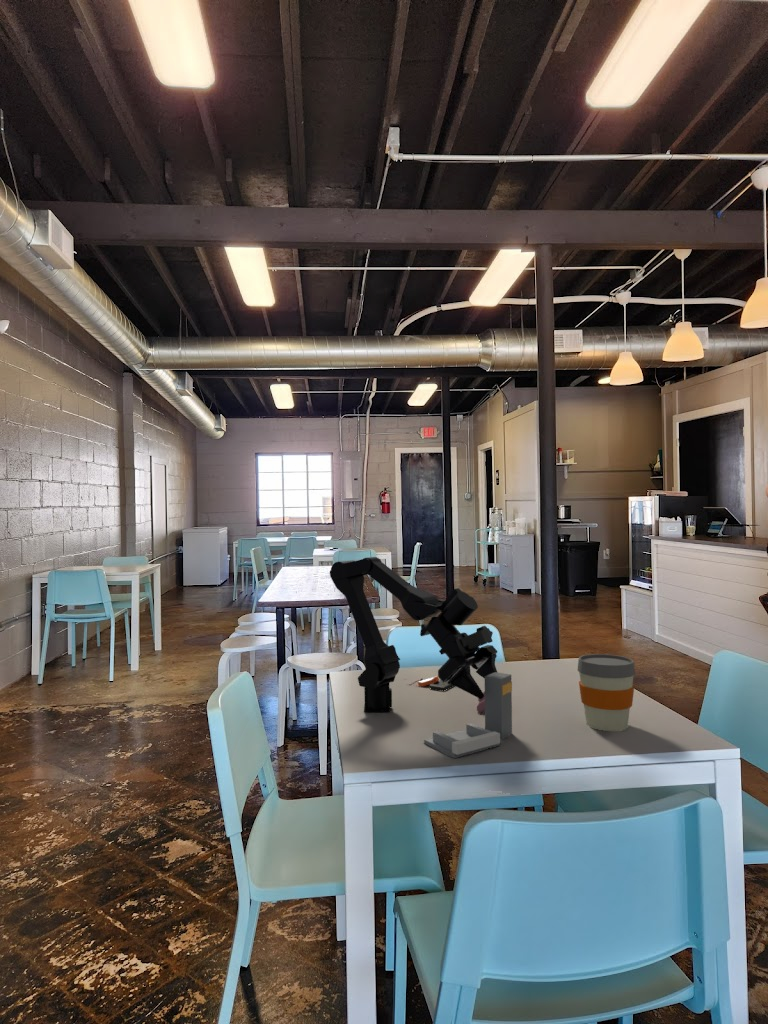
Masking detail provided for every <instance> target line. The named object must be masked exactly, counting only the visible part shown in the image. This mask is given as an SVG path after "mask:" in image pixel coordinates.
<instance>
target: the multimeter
mask: <svg viewBox="0 0 768 1024" xmlns="http://www.w3.org/2000/svg"><path fill="white" fill-rule="evenodd" d="M415 683H417V684H418V687H420V686H423V687H426V686H429V689H430V688H431V689H430V690H432V689H437V690H436V691H438V690H443V691H442V692H445V691H444V690H446V689H447V690H449V689H451V688H453V687H452V686H453V685H451V684H448V681H447V682H445V683H443V682H442V681H441V680H440V678H439V677H438V675H435V676H432V677H429V678H426V679H423V678H420V679H419V680H416V681H413V682H412V683H411V684H410V686H412V685H414V684H415ZM450 687H451V688H450ZM448 688H449V689H448ZM447 690H446V691H447Z"/></svg>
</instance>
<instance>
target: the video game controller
mask: <svg viewBox="0 0 768 1024" xmlns="http://www.w3.org/2000/svg"><path fill="white" fill-rule="evenodd" d="M482 692H483V694H484V697H483V698H482V699H479V698H477V701H478V702H479V703H478V704H477V705H476V711H477V712H478V713H480V714H481V713H485V690H484V691H482Z"/></svg>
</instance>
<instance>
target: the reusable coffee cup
mask: <svg viewBox="0 0 768 1024" xmlns="http://www.w3.org/2000/svg"><path fill="white" fill-rule="evenodd" d="M634 661H635V660H633V659H632V658H629V657H626V656H622V655H617V654H616V655H615V654H606V653H605V654H604V653H593V654H583V655H580V656H578V663H577V672H579V681H578V685H579V693H580V700H581V703H582V704H583V707H584V709H583V710H584V715H585V722H586V725H587V727H589V728H592V729H594V730H597V729H598V730H599V731H602V730H603V731H604V732H621V731H620V730H623V731H625V730H627V729H628V726H629V718H630V712H631V711H630V709H631V708H632V707H633V700H634V693H635V685H634V676H635V675H636V669H635V662H634ZM626 728H627V729H626ZM624 729H625V730H624Z"/></svg>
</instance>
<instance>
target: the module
mask: <svg viewBox="0 0 768 1024" xmlns="http://www.w3.org/2000/svg"><path fill="white" fill-rule="evenodd" d="M484 691H485V712H484V729H487V730H489V731H492V732H494V731H495V732H498V733H500V741H502V740H504V739H506V738H507V737H509V736H511V735H512V734H513V715H512V714H513V712H512V711H513V710H512V708H513V707H512V706H513V705H512V703H513V700H512V699H513V698H512V693H513V692H512V691H513V681H512V674H511V673H503V672H498V671H497V672H494V673H492V674H489V675H487V676H485V679H484Z"/></svg>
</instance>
